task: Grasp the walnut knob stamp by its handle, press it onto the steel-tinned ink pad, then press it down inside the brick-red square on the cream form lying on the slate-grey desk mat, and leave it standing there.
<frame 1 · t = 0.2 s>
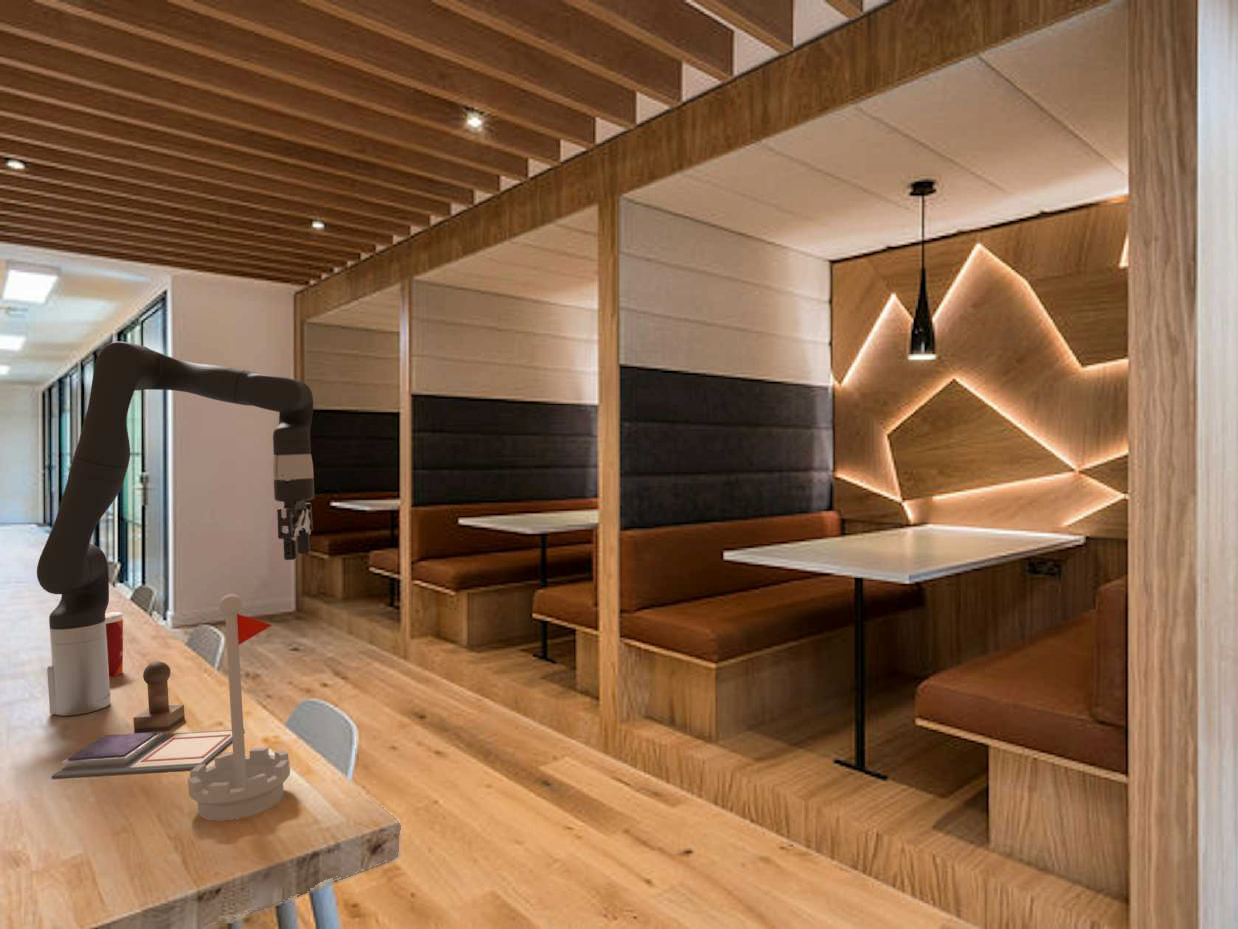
hand: (297, 556, 157), 29 cm above the table, fingers open, 8 cm apart
stamp: (160, 725, 144), on the table
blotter: (154, 753, 130), on the table
paper cup: (108, 675, 180), on the table
ink pad: (114, 755, 130), resting on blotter
flag stand: (241, 803, 110), on the table
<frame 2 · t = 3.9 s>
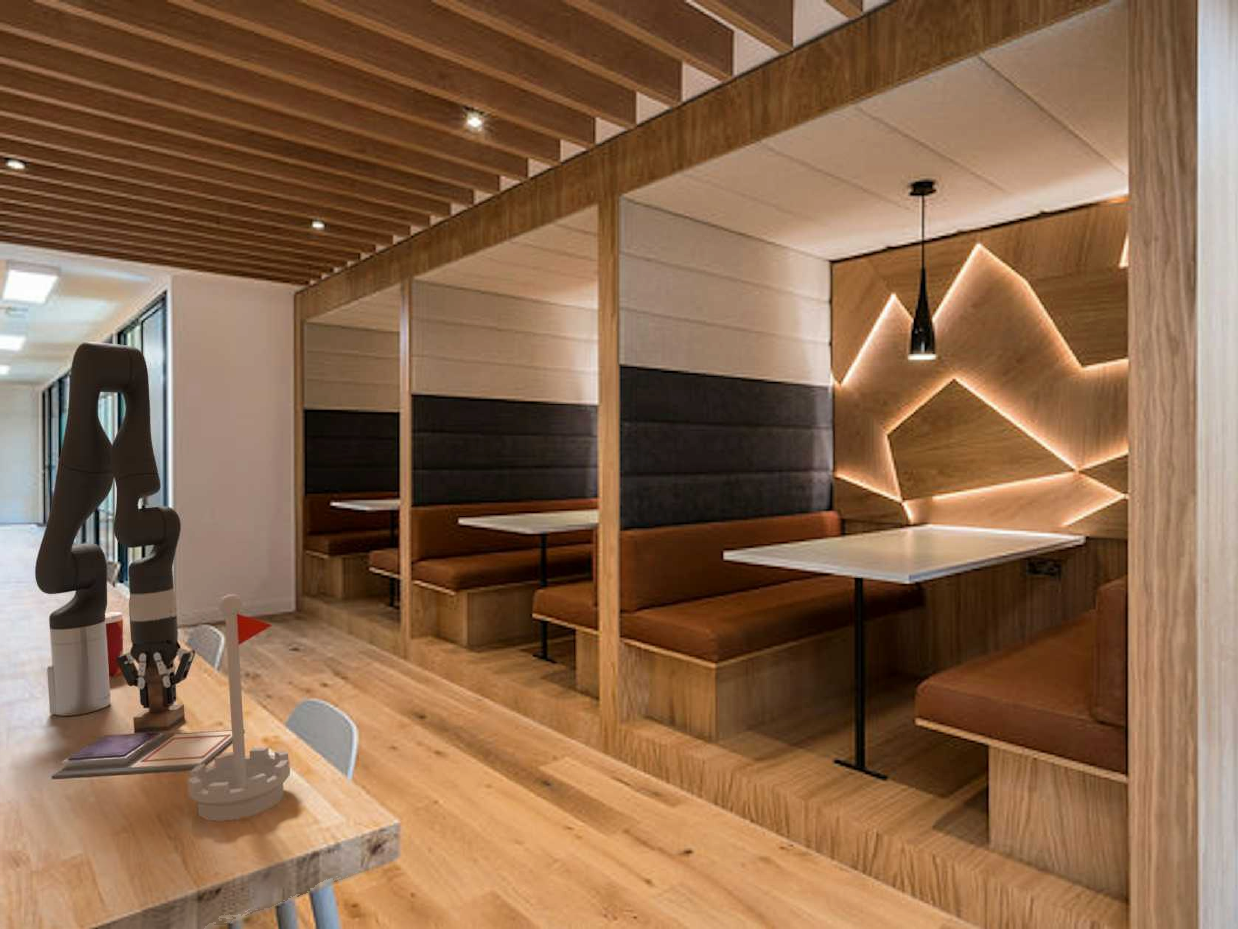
hand: (159, 706, 144), 4 cm above the table, fingers closed on stamp, 3 cm apart
stamp: (160, 725, 144), on the table, touching gripper
everything else where it was.
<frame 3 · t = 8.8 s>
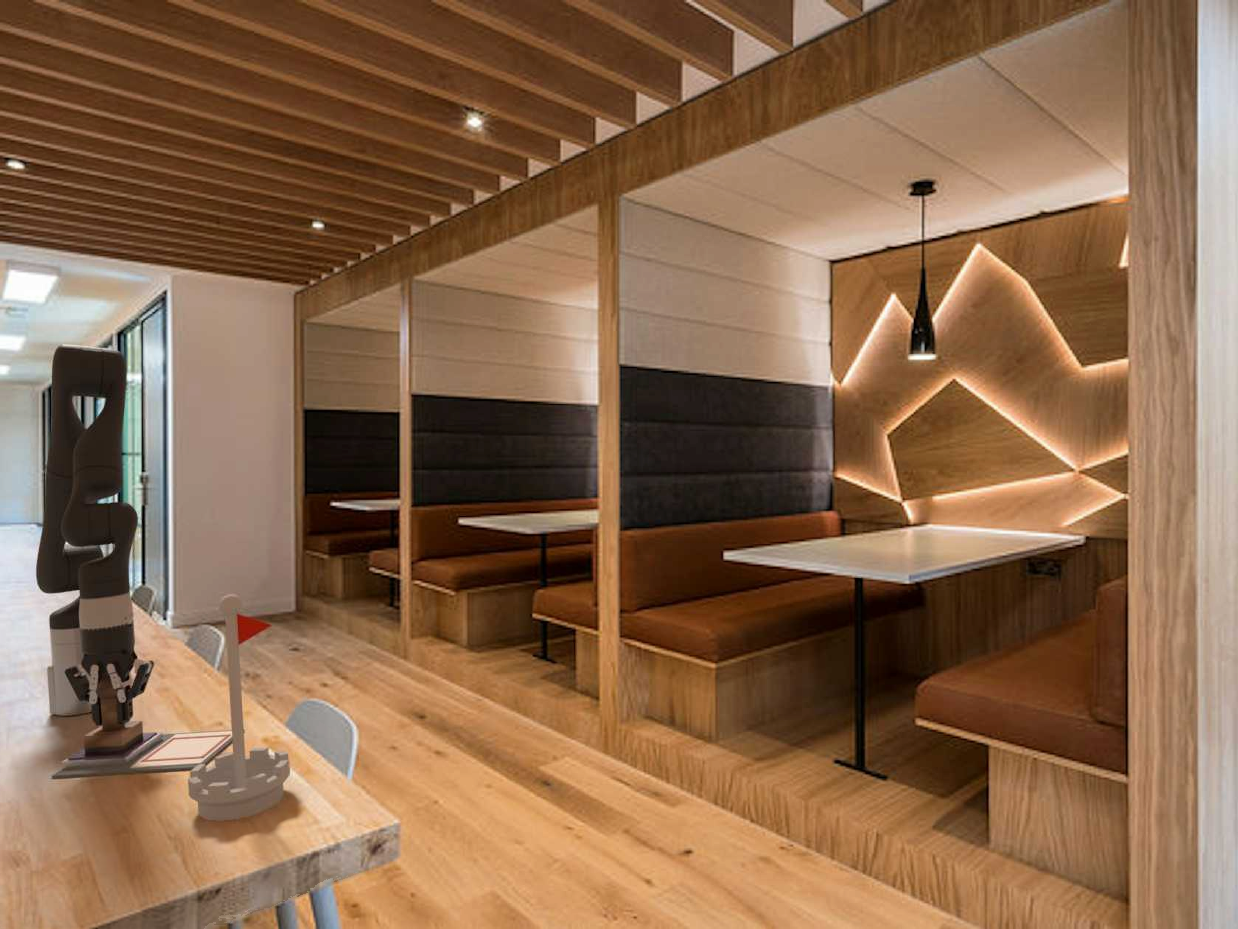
hand: (113, 722, 130), 6 cm above the table, fingers closed on stamp, 3 cm apart
stamp: (114, 744, 130), point 2 cm above the table, touching gripper, ink pad
everything else where it was.
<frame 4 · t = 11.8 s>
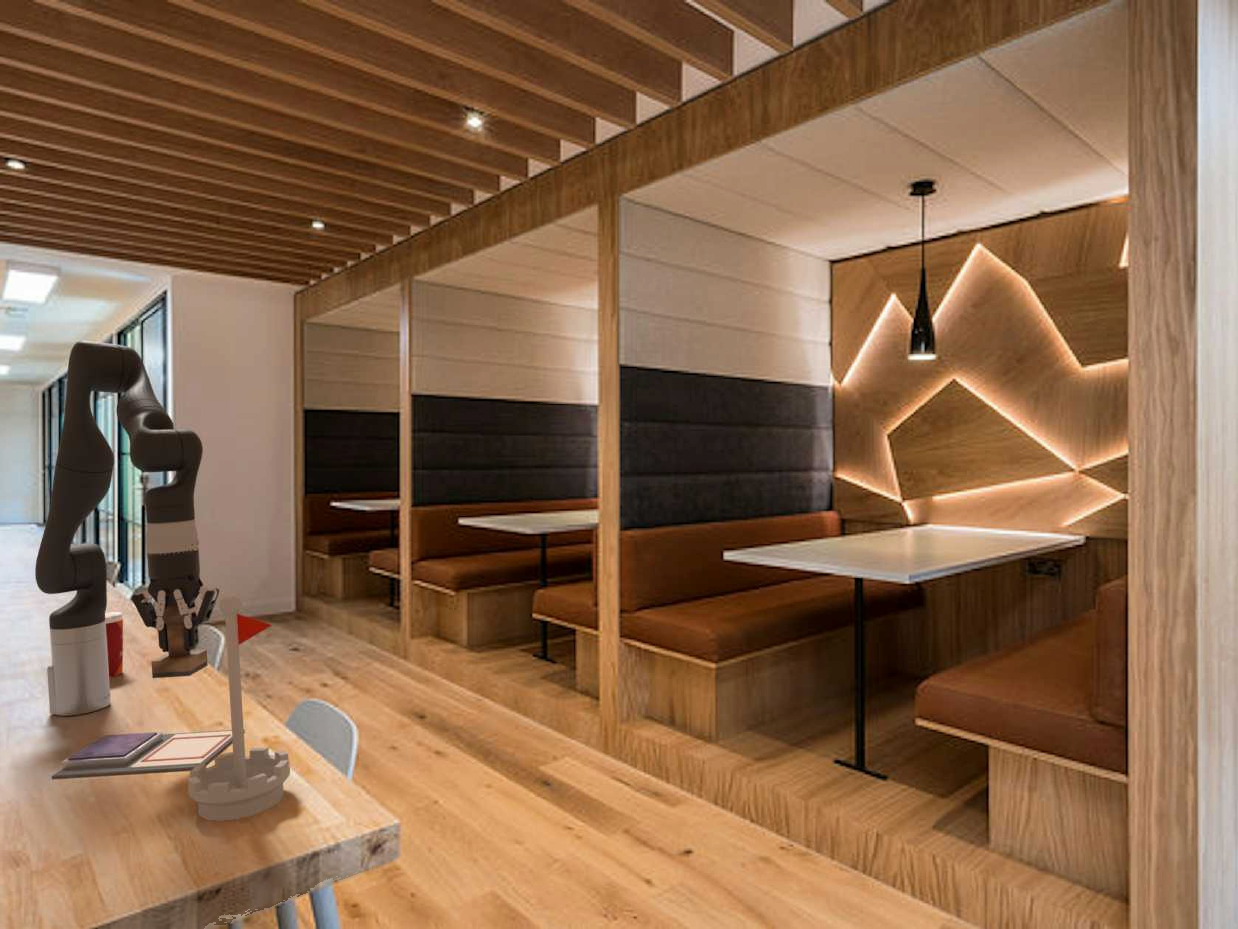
hand: (179, 649, 130), 17 cm above the table, fingers closed on stamp, 3 cm apart
stamp: (180, 671, 130), point 14 cm above the table, touching gripper
everything else where it was.
when the fingers open (4 cm above the table, at t = 14.1 s): stamp stays where it is, resting on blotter.
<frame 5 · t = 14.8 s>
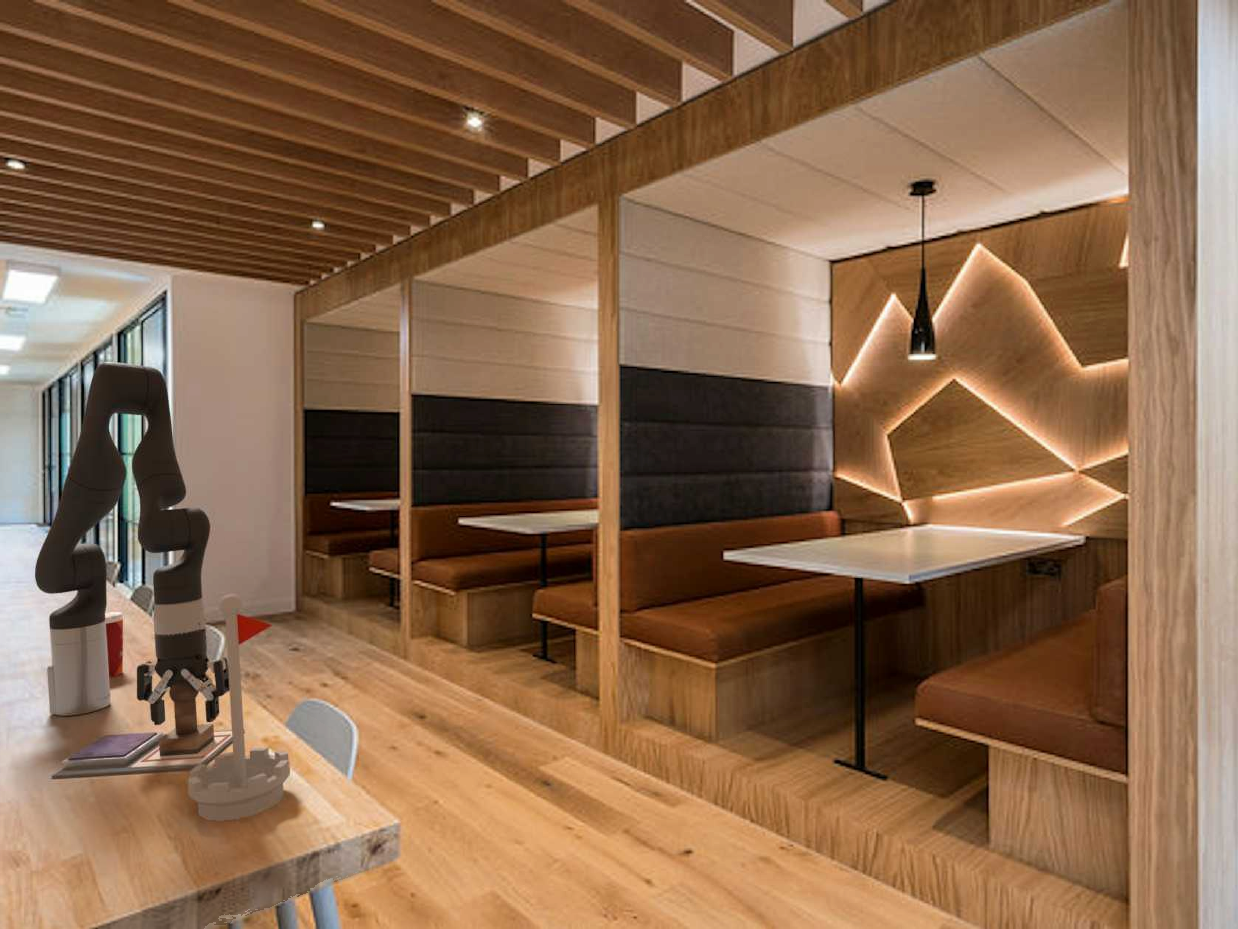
hand: (186, 722, 130), 5 cm above the table, fingers open, 8 cm apart
stamp: (187, 748, 130), point 1 cm above the table, touching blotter
everything else where it was.
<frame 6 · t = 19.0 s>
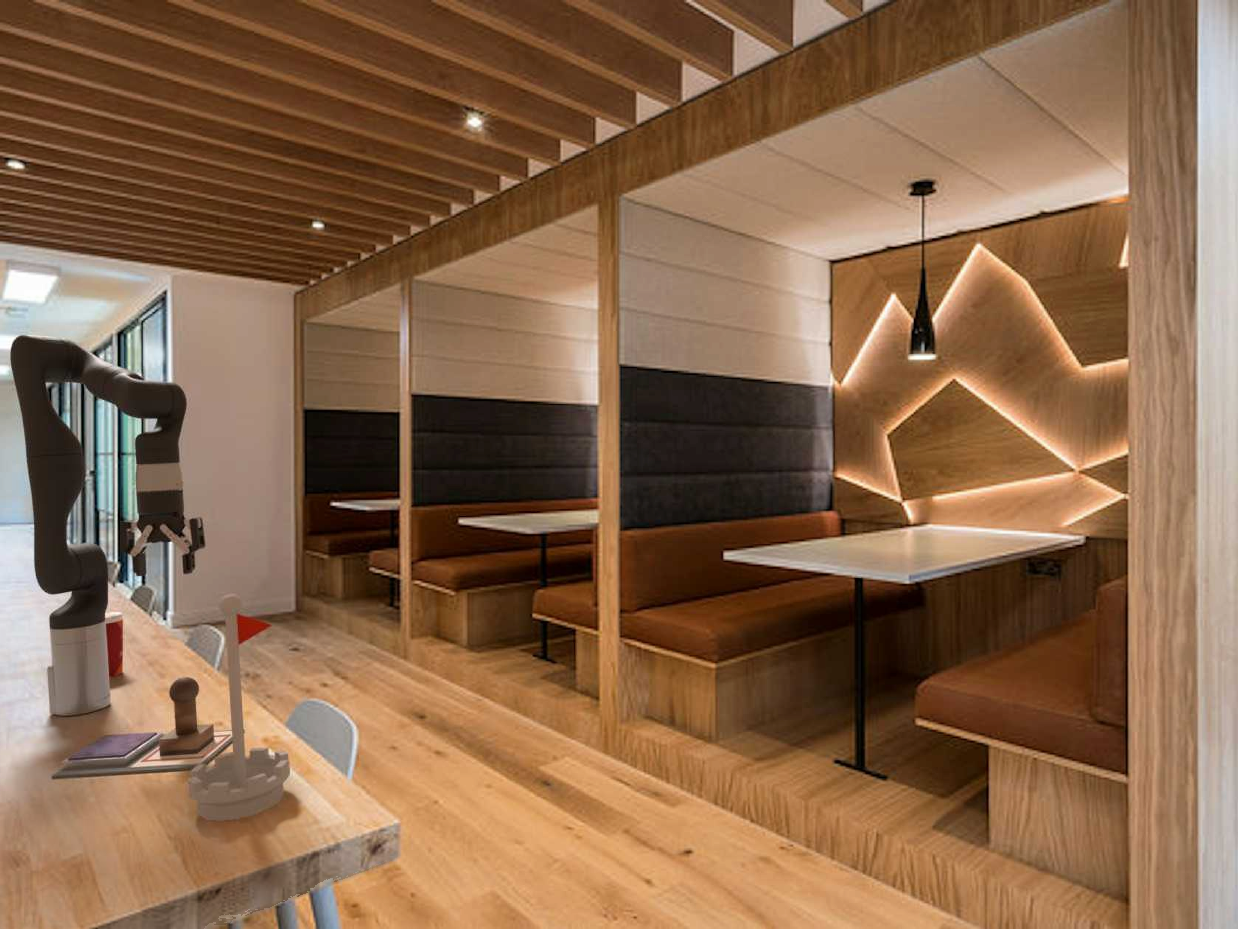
hand: (164, 574, 144), 28 cm above the table, fingers open, 8 cm apart
nothing on the table moved.
at the end: stamp 0.0 cm from the target spot on the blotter, point 0.6 cm above the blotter's base; stamp tilted 0°; the gripper is holding nothing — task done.
